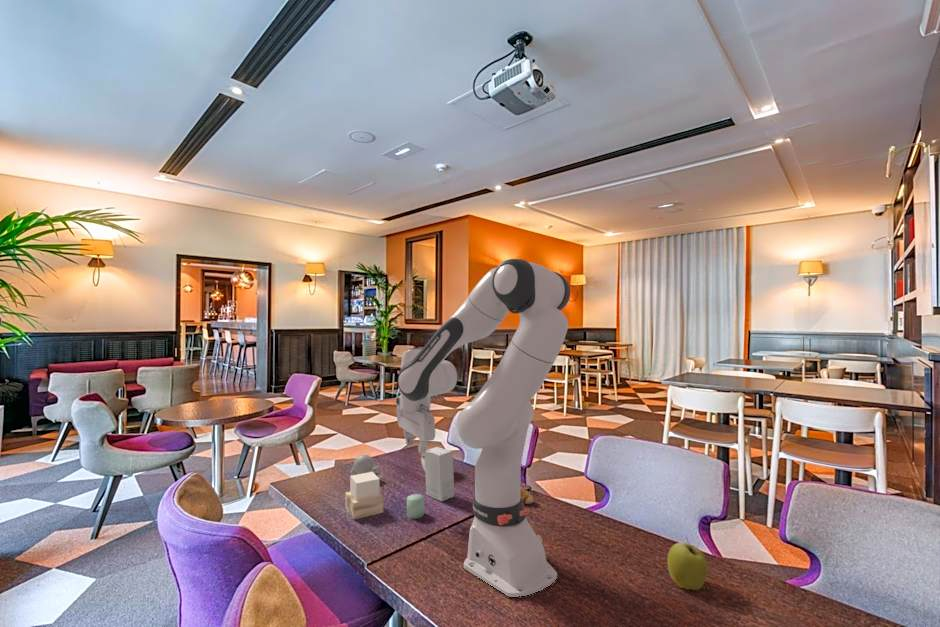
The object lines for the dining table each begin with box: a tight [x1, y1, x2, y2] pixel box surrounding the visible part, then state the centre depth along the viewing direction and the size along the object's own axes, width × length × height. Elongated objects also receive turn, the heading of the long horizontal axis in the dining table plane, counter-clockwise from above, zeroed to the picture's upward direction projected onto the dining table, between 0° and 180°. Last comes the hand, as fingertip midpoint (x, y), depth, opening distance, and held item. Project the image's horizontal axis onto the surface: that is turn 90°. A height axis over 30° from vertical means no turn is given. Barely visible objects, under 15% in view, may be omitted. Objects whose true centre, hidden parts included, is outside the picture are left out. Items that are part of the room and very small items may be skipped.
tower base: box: [344, 491, 384, 521], centre depth 127 cm, size 9×9×5 cm
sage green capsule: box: [406, 493, 425, 520], centre depth 124 cm, size 5×5×5 cm
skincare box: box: [424, 446, 455, 502], centre depth 137 cm, size 8×6×15 cm
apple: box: [667, 537, 709, 591], centre depth 91 cm, size 8×8×10 cm
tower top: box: [349, 472, 381, 501], centre depth 127 cm, size 7×7×5 cm
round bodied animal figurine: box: [349, 454, 383, 482], centre depth 150 cm, size 7×12×8 cm, turn 64°
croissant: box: [521, 485, 535, 505], centre depth 136 cm, size 21×10×8 cm, turn 58°
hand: (415, 448), depth 124 cm, fingers open, 8 cm apart
